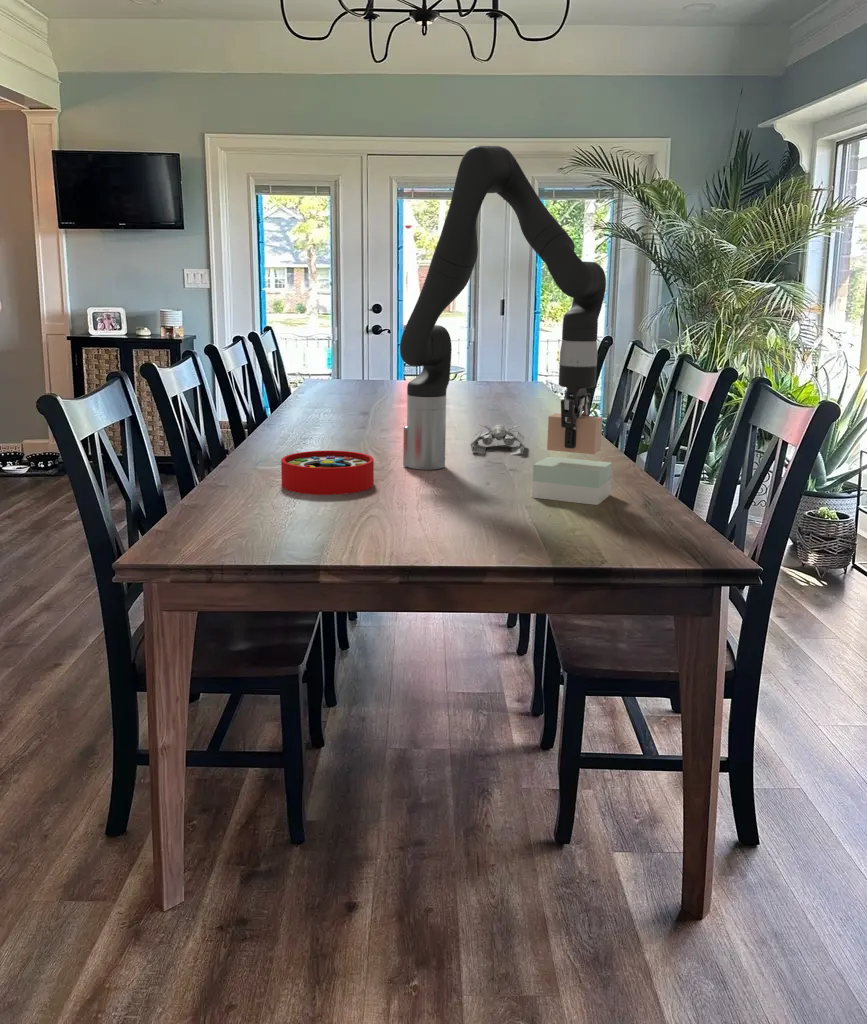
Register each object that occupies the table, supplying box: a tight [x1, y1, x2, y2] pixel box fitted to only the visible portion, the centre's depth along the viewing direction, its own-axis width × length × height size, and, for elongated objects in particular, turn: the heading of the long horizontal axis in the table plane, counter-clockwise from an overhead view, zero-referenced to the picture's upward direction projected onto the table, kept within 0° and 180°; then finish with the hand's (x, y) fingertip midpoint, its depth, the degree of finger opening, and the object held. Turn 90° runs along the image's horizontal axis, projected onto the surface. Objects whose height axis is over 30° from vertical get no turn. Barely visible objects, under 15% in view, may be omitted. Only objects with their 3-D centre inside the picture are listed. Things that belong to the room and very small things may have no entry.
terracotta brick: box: [546, 413, 604, 455], centre depth 192 cm, size 5×10×7 cm, turn 65°
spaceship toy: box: [470, 424, 526, 456], centre depth 246 cm, size 14×20×6 cm
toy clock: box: [280, 450, 375, 496], centre depth 203 cm, size 20×6×20 cm
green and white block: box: [531, 456, 613, 506], centre depth 195 cm, size 14×10×7 cm
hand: (573, 445), depth 193 cm, fingers closed on terracotta brick, 5 cm apart
